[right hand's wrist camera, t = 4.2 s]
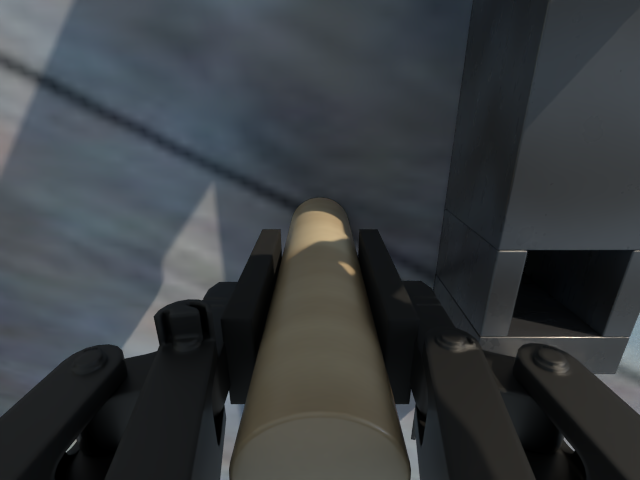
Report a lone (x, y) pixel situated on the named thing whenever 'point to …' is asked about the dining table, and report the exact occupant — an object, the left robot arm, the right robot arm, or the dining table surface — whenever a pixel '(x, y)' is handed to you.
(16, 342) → the dining table surface
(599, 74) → the peg board
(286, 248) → the peg
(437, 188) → the dining table surface
